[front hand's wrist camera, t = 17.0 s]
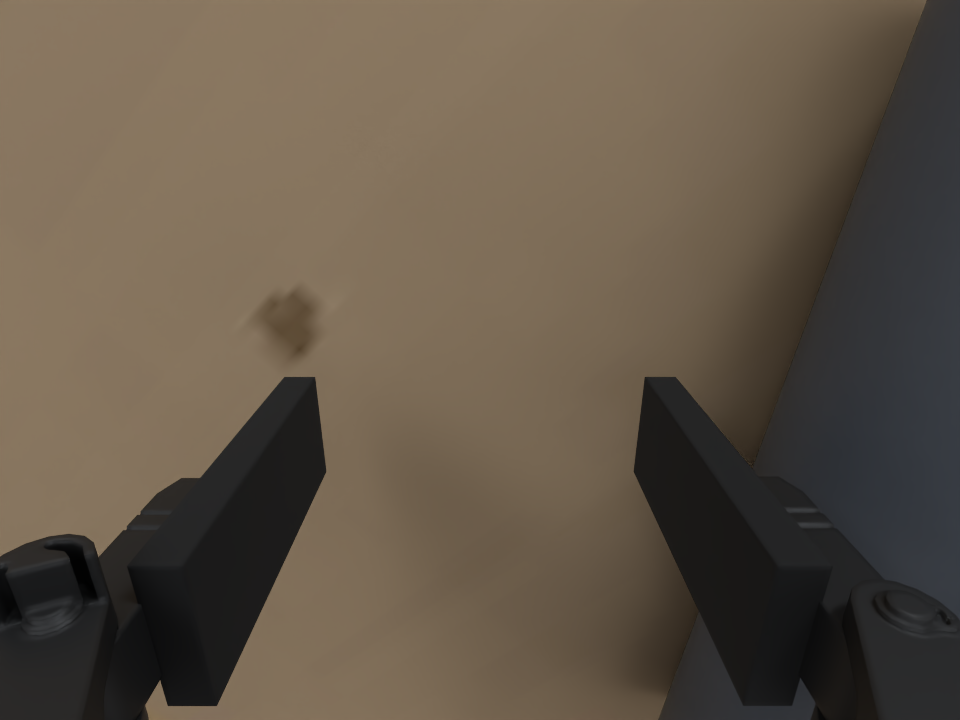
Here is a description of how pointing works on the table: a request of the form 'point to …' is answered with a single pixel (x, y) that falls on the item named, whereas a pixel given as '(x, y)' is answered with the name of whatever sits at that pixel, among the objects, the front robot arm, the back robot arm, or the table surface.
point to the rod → (876, 368)
